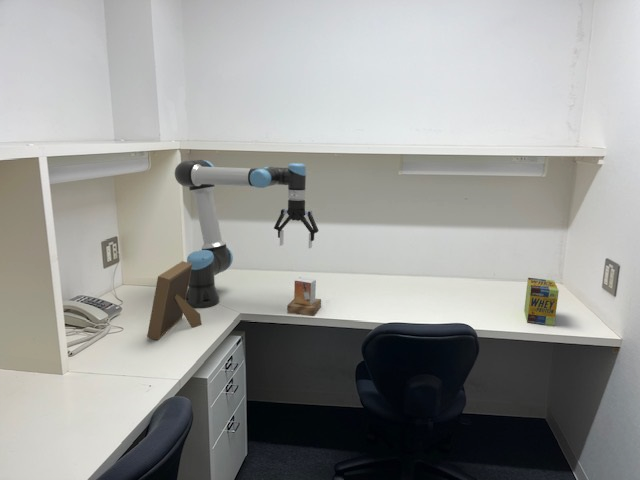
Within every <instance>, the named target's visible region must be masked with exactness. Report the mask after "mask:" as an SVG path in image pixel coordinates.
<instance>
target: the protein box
mask: <svg viewBox="0 0 640 480" xmlns="http://www.w3.org/2000/svg"><path fill="white" fill-rule="evenodd" d="M558 299H559V289H558V286H557V284H556V283H555V280H552V279H551V280H550V279H544V278H535V277H527V283H526V292H525V301H524V310H523V311H524V315H525V319H526V320H525V321H526V323H527V324H535V325H543V326H549V327H555V321H556V317H557V316H556V314H557V306H558Z"/></svg>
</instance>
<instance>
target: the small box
mask: <svg viewBox="0 0 640 480" xmlns="http://www.w3.org/2000/svg"><path fill="white" fill-rule="evenodd" d="M316 283H317V280H316V279H314V278H312V279H311V278H306V277H305V278H304V277H298V278H297V279H295V280H294V293H293V299H294V303H299V304H304V305H308V306H311V305H312V304H313V303H314V302H315V299H316V289H317V285H316Z"/></svg>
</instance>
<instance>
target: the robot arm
mask: <svg viewBox="0 0 640 480" xmlns="http://www.w3.org/2000/svg"><path fill="white" fill-rule="evenodd" d="M306 171H307V170H306V165H305V163H289V164H288V167H280V166H279V167H275V166H264V167H263V168H252V167H251V168H250V167H249V168H248V167H227V166H226V167H223V166H215V165H214V164H212V162H211V161H208V160H205V159H194V160H185V161H181V162H180V163H178V164H177V165H176V167H175V170H174V178H175V181H176V182H177V183H178V184H179V185H181V186H182V187H186V188H188V189H189V192H190V193H192V194H193V197H194V201H195V207H196V212H197V216H198V221H199V227H200V231H201V236H202V241H203V245H202V246H201V250H200V249H199V250H196V251H193V252H191V253H190V254H188V255H187V258H186V260H187V261H186V262H188V263H191V264H193V265H192V270H191V275H190V280H189V285H188V290H187V295H186V300H185V301H186V302H187V303H188V304H189V305H190V306H191V307H192V308H194V309H202V308H203V309H204V308H205V309H206V308H209V307H214V306H215V305H218V304H219V303H220V295H219V293H218V290H217V288H216V286H215V285H216V284H215V283H216V282H215V276H216V275H218V274H220V273H223V272H225V271H226V270H228V269H229V268H230V267H231V266H232V264H233V261H234V258H233V257H234V256H233V252H232V250H231V249H229V248H228V246H227V243H226V242H225V241H224V240H223V239H222V235H221V229H220V224H219V223H220V222H219V218H218V213H217V207H216V204H215V198H214V193H213V191H214V189H215V186H217V185H218V186H234V187H235V186H237V187H238V186H239V187H241V186H242V187H255V188H258V189H264V188H266V187H271V186H276V185H279V186H280V185H281V186H287V198H288V200H287V209H285V208H283V209H280V214H279V216H278V219H277V220H276V223H275V225H273V226H274V227H273V229H274V230H276V231H277V238H279V247H280V246H283V245H284V237H285V236H284V230H283V229H284V228H285V227H286V226H287V224H288V223H289V222H290V221H291V220H292V221H300V222H301V223H302V224H303V226H305V228H306V229H307V231H308V232H309V233H308V249H311V248H312V247H313V241H315V234H316V233H318V232H319V227H318V226H317V223H316V222H315V219H314V216H313V211H312V210H309V211H308V210H307V211H306V200H305V199H306V179H307V172H306ZM286 214H287V215H288V216H287V217H286V219H285V220H284V221H283V219H284V217H285V215H286ZM305 215H306V217H307V218H308V220H309V221H308V220H307V218H306V217H305ZM282 221H283V223H282ZM309 222H310V223H309Z"/></svg>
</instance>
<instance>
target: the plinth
mask: <svg viewBox="0 0 640 480" xmlns="http://www.w3.org/2000/svg"><path fill="white" fill-rule="evenodd" d="M321 307H322V298H315V302H314V303H313V304H312V305H311V306H308V305H304V304H299V303H294V298H293V299H292V300H291V301H290V302H289V303H288V304H287V314H294V315H300V314H301V316H311V317H315V315H316V314H317V313H318V311H319V310H320V308H321Z"/></svg>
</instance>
